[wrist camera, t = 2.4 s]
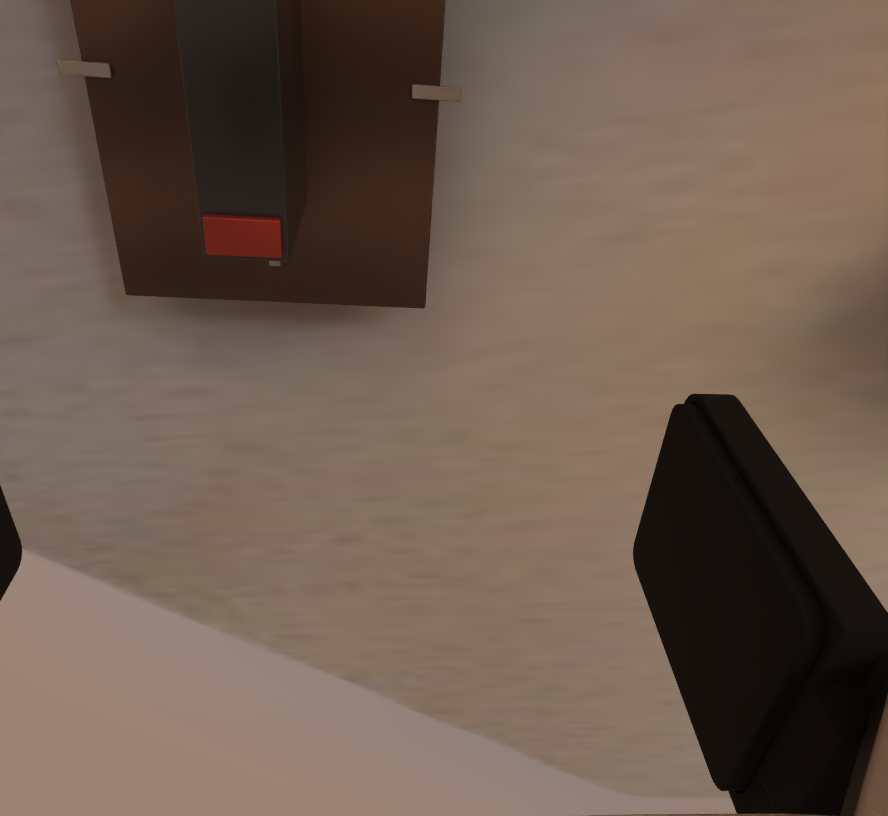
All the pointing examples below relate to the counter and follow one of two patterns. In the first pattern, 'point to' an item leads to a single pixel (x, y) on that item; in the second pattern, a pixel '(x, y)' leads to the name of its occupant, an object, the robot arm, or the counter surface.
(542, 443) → the counter surface
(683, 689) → the robot arm
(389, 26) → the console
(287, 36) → the dark bar red tip
